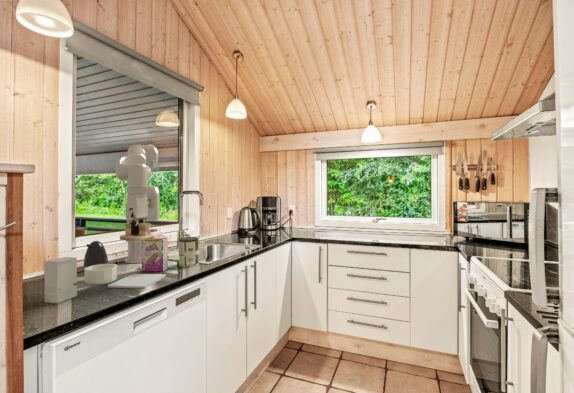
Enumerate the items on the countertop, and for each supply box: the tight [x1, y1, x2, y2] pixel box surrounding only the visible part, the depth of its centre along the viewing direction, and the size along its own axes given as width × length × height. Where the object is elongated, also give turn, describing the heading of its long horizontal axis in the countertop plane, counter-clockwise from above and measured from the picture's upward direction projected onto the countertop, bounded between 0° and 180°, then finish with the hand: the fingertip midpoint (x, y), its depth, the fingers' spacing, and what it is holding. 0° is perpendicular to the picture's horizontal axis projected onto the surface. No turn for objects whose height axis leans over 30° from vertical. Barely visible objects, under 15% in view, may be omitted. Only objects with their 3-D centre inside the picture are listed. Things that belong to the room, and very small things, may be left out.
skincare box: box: [43, 256, 78, 304], centre depth 112 cm, size 8×6×15 cm
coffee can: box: [178, 236, 200, 268], centre depth 164 cm, size 10×10×14 cm
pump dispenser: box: [82, 240, 109, 269], centre depth 149 cm, size 10×10×15 cm
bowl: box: [84, 263, 118, 286], centre depth 135 cm, size 12×12×6 cm
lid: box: [119, 222, 157, 243], centre depth 133 cm, size 14×14×7 cm
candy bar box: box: [141, 236, 169, 273], centre depth 152 cm, size 11×5×16 cm, turn 84°
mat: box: [107, 273, 167, 290], centre depth 134 cm, size 18×16×1 cm
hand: (138, 233), depth 133 cm, fingers closed on lid, 4 cm apart
